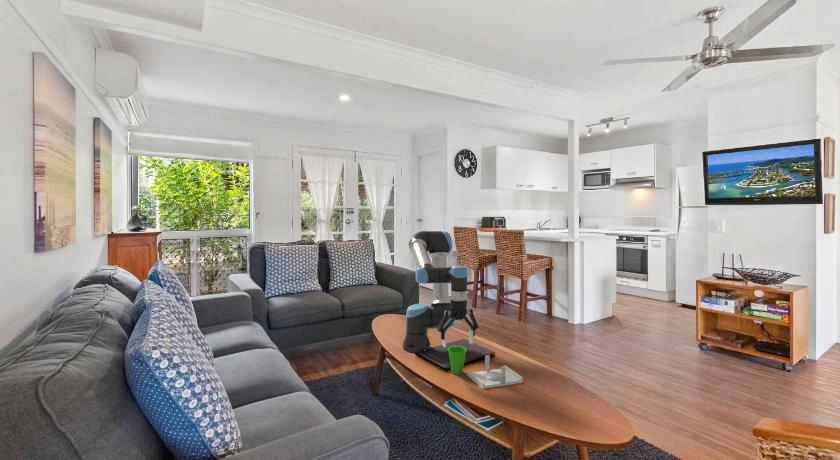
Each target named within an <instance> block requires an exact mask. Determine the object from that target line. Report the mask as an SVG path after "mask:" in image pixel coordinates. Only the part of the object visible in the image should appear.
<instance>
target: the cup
mask: <svg viewBox="0 0 840 460" xmlns="http://www.w3.org/2000/svg"><path fill="white" fill-rule="evenodd" d="M447 351H448V357H449V363H450V372H451V374H454V375H462V374H463V371H464V365H465V360H466V356H467V351H468V349H467V347H465V346H462V345H451V346H448V347H447Z"/></svg>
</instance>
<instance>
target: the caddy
mask: <svg viewBox="0 0 840 460" xmlns="http://www.w3.org/2000/svg"><path fill="white" fill-rule="evenodd" d="M490 358H491V356H490V355H489V354H488V355H487V354H486V355H485V357H484V370H480V371H475V372H474V371H473V372H472V371H471V370H470V369H469V370H467V377H469V379H471V380H472V382H474V383H475V384H476V385H478V386H479V387H480V388H481V389H482V390H484V389H490V388H498V387H504V386H509V385H516V384H522V383H523V381H524V379H523V378H524V377H523V376H522V375H520V374H518V373H517V372H516V371H515V370H513V369H511V368H510V367H508V366H507V365H506V364H505V365H502V366H500V368H497V369H496V368H494V369H490V362H491V360H490Z"/></svg>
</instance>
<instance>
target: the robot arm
mask: <svg viewBox="0 0 840 460" xmlns="http://www.w3.org/2000/svg"><path fill="white" fill-rule="evenodd" d="M408 249H409V251H410V253H411V254H412V256H413V258H414V260H415V263H416V267H417V268H415V273H414V274H415V282H417V284H424V285H425V284H426V285H427V284H432V295H433V296H432V297H433V298H432V300H433V301H432V302H430V306H429V304H427V303H415V304H412V305H409V306H408V307H407V309H406V314H405V317H406V319H405V322H406V324H405V326H406V327H405V330H406V331H405V335H404V339H403V342H402V350H405V351H406V352H409V353H422V352H421V351H424V350H428V349H430V350H431V342H430V338H429V335H428V333H429V332H428V331H429V329H433V330H434V329H436V330H437V331H438V332H439V333H440V339H441V340H442V345H441V346H442V347H444V348H447V330H448V329H450V328H452V327H454V325H455V323H456V321H459V320H461V321H462V320H464V322H465V323H466V324H467V325H468V327H469V329H468V343H469V344H470V345H474V337H475V336H476V332H475V331H476V330H477V329H479V328H480V327H479V323H478V322H477V320H476V318H475V315H474V310H473V309H472V308H469V307H468V300H467V299H468V277H469V271H468V267H467V266H465V265H459V264H458V265H452V266H448V256H450V253H451V252H452V250H453V239H452V236H451V234H450V233H449V232H448V231H442V230H438V231H437V230H434V231H433V230H422V231H419V232H416V233H414V234H413V235H412V236H411V238H410V239H409V242H408ZM449 284H450V292H449ZM449 293H450V294H449ZM449 295H450V296H449ZM467 308H468V309H467ZM467 314H468V315H469V317H470V320H471V321H470V320H469V318H468V317H467V316H466V315H467ZM428 351H429V350H428Z"/></svg>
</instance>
